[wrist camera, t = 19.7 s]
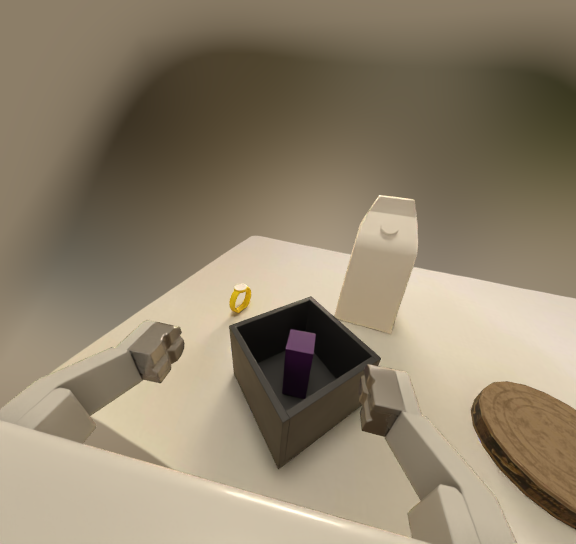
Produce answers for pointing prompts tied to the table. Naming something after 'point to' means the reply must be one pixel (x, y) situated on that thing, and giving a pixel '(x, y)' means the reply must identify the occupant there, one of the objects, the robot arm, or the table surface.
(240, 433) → the table surface
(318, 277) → the table surface
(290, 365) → the purple rectangular block
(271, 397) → the waste bin
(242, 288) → the watch
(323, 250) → the table surface
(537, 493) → the wood slice coaster
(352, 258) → the milk
